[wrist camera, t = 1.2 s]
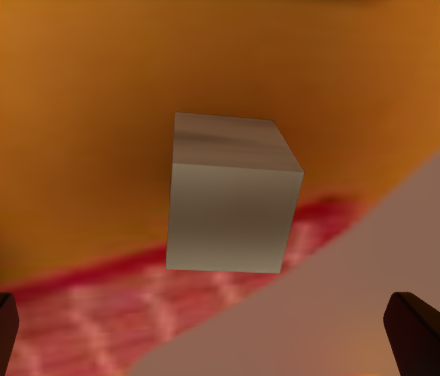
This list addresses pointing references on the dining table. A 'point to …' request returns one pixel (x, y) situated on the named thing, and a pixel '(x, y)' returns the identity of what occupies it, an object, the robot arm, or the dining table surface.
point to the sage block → (230, 194)
